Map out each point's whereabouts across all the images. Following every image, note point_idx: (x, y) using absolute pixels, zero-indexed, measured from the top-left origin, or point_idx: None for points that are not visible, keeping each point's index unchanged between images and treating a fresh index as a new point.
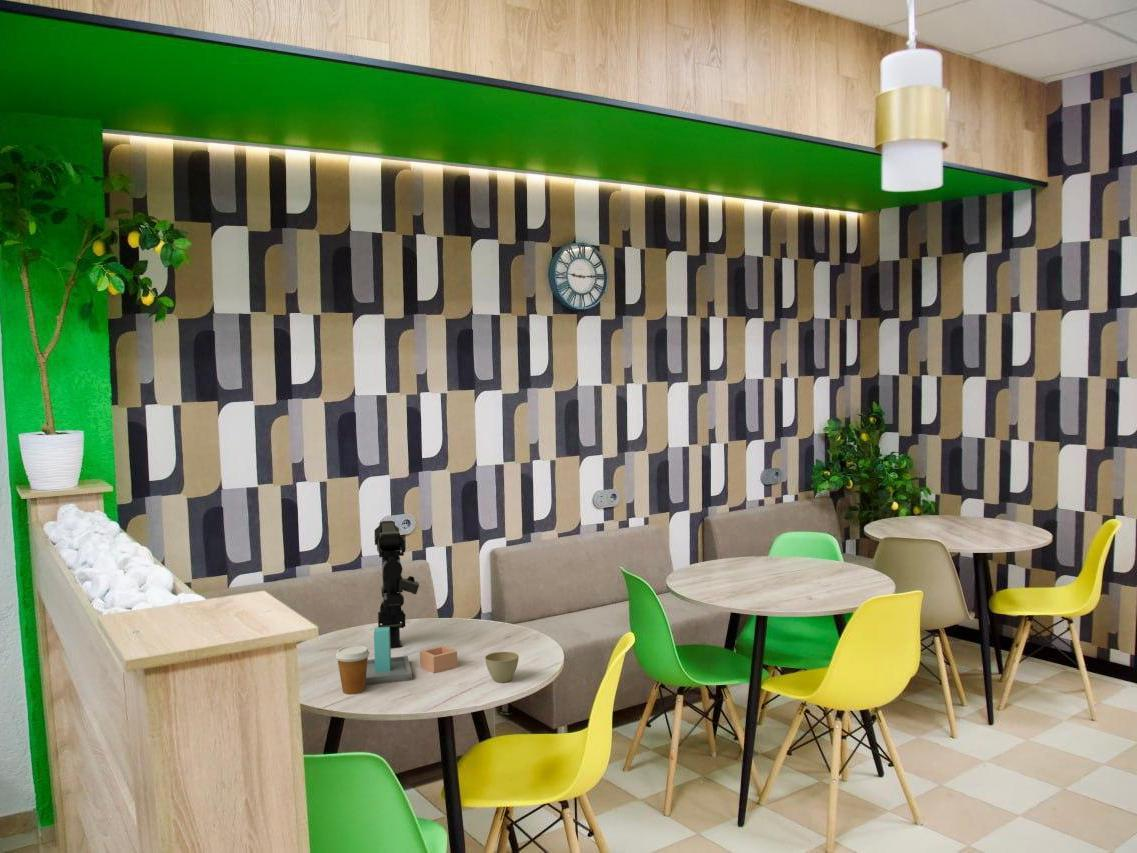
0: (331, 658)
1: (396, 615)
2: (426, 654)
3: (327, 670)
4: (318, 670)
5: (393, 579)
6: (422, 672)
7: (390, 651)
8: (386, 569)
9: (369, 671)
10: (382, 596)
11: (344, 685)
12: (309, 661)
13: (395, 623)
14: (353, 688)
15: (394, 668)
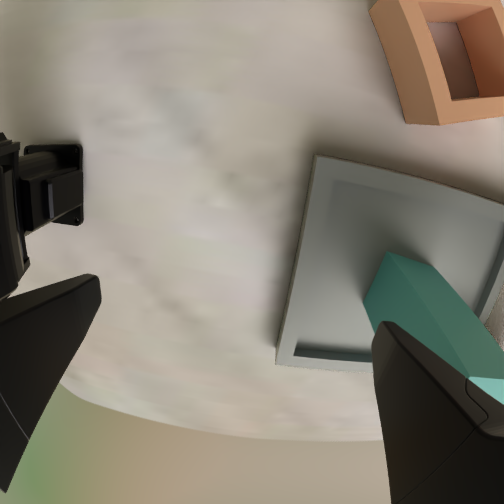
0: (149, 382)
1: (456, 379)
2: (492, 117)
3: (266, 410)
4: (254, 423)
5: None
6: (469, 142)
7: (417, 286)
8: None
9: None
10: (6, 490)
11: None
12: (162, 421)
13: (394, 325)
14: None
15: (415, 243)
